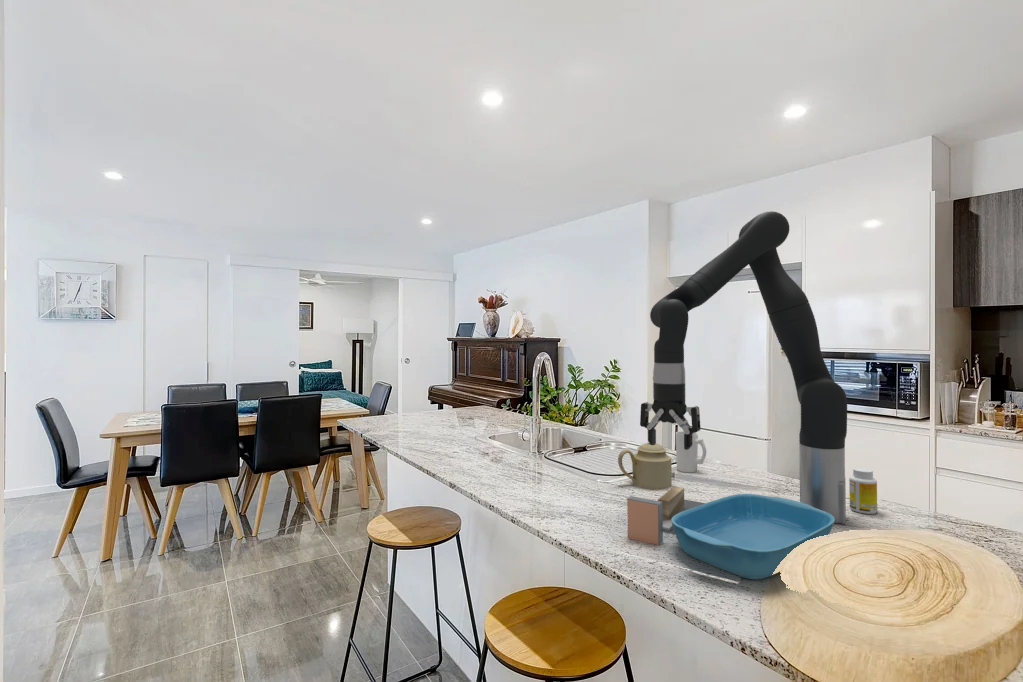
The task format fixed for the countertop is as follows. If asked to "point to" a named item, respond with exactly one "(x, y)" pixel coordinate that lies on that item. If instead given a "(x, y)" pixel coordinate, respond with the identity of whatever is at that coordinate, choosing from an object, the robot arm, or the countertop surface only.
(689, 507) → the mat
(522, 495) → the countertop surface
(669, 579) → the countertop surface
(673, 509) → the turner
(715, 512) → the casserole dish
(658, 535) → the tile
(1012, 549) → the countertop surface
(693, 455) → the mug
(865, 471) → the supplement bottle
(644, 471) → the beige teapot
